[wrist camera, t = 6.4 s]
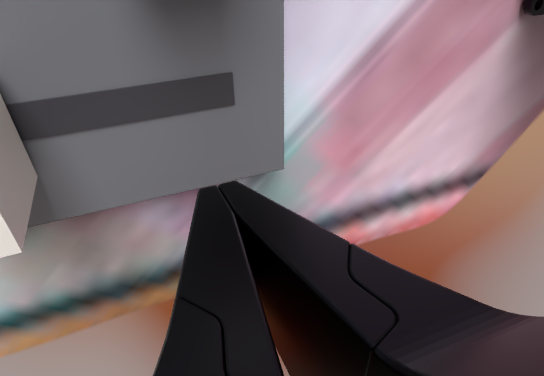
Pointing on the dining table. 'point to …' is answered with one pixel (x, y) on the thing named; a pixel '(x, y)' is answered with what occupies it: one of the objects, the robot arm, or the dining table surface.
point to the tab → (14, 186)
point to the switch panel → (141, 96)
